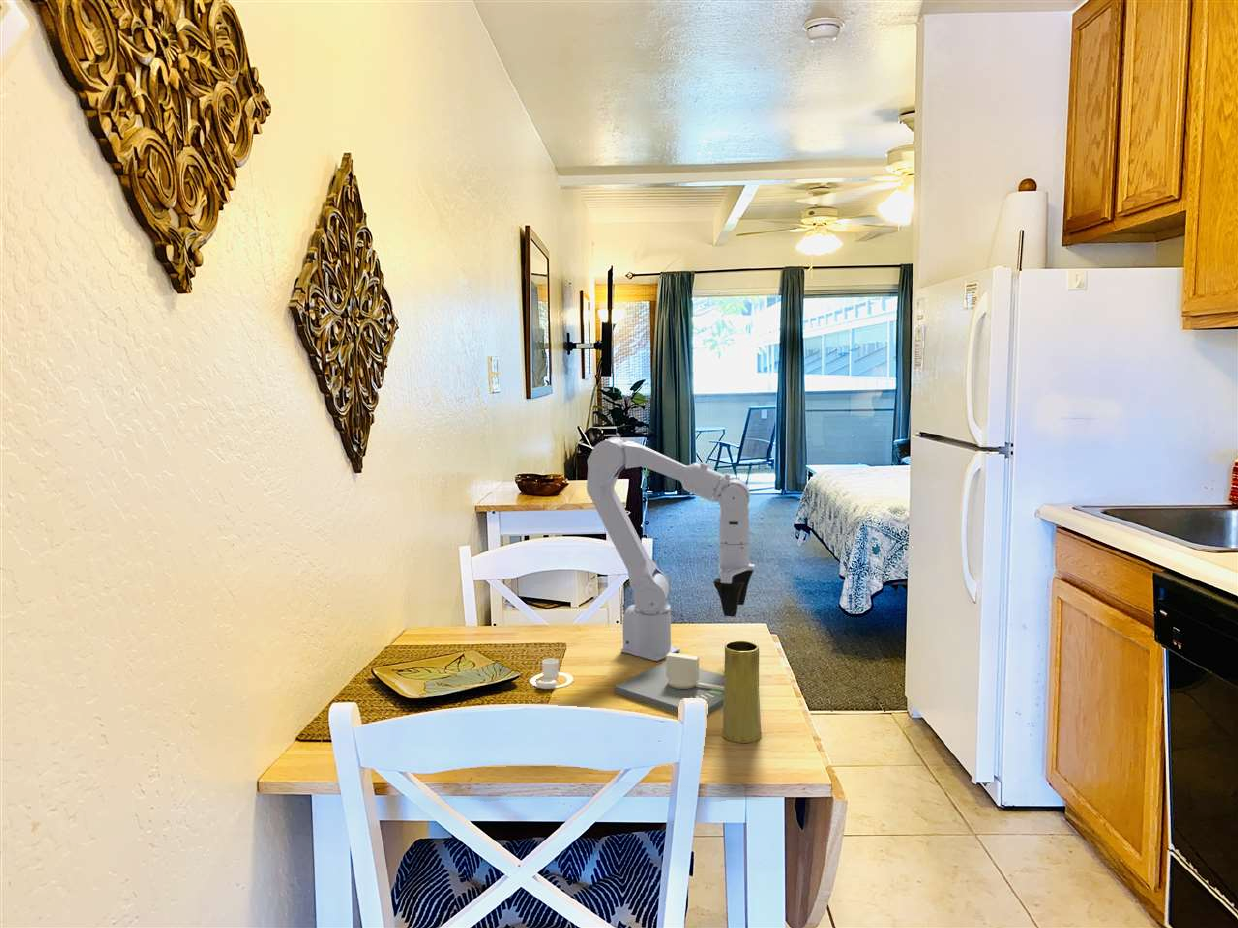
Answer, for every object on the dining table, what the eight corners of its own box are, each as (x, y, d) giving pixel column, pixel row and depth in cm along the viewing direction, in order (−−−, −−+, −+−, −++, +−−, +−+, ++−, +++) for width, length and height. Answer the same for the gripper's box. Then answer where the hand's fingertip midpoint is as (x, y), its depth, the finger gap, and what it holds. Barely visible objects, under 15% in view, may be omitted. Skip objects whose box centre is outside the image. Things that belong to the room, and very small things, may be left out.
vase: (752, 747, 119) (752, 655, 117) (715, 737, 122) (714, 648, 121) (767, 731, 124) (768, 643, 122) (731, 722, 127) (731, 636, 126)
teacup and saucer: (550, 696, 140) (549, 674, 139) (517, 686, 145) (516, 664, 144) (582, 680, 147) (581, 659, 146) (550, 671, 152) (549, 650, 151)
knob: (662, 685, 139) (662, 658, 138) (673, 675, 143) (672, 649, 143) (721, 695, 134) (721, 667, 134) (730, 685, 139) (730, 657, 138)
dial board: (614, 692, 140) (614, 685, 140) (669, 666, 152) (669, 659, 152) (698, 720, 128) (698, 712, 128) (750, 689, 140) (750, 682, 140)
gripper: (747, 551, 146) (747, 623, 147) (761, 535, 159) (761, 601, 161) (709, 548, 148) (709, 619, 150) (727, 533, 162) (727, 598, 163)
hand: (734, 609), depth 155 cm, fingers open, 7 cm apart
